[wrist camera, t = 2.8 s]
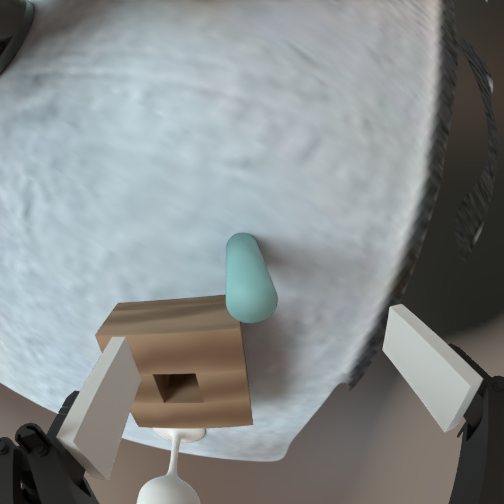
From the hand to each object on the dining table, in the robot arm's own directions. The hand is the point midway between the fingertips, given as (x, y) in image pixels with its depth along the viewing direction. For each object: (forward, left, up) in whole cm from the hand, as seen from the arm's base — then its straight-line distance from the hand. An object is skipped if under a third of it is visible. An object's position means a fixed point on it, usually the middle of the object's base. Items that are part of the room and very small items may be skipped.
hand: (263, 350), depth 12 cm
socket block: (+12, -8, -17) cm, 22 cm away
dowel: (0, 0, -17) cm, 17 cm away
